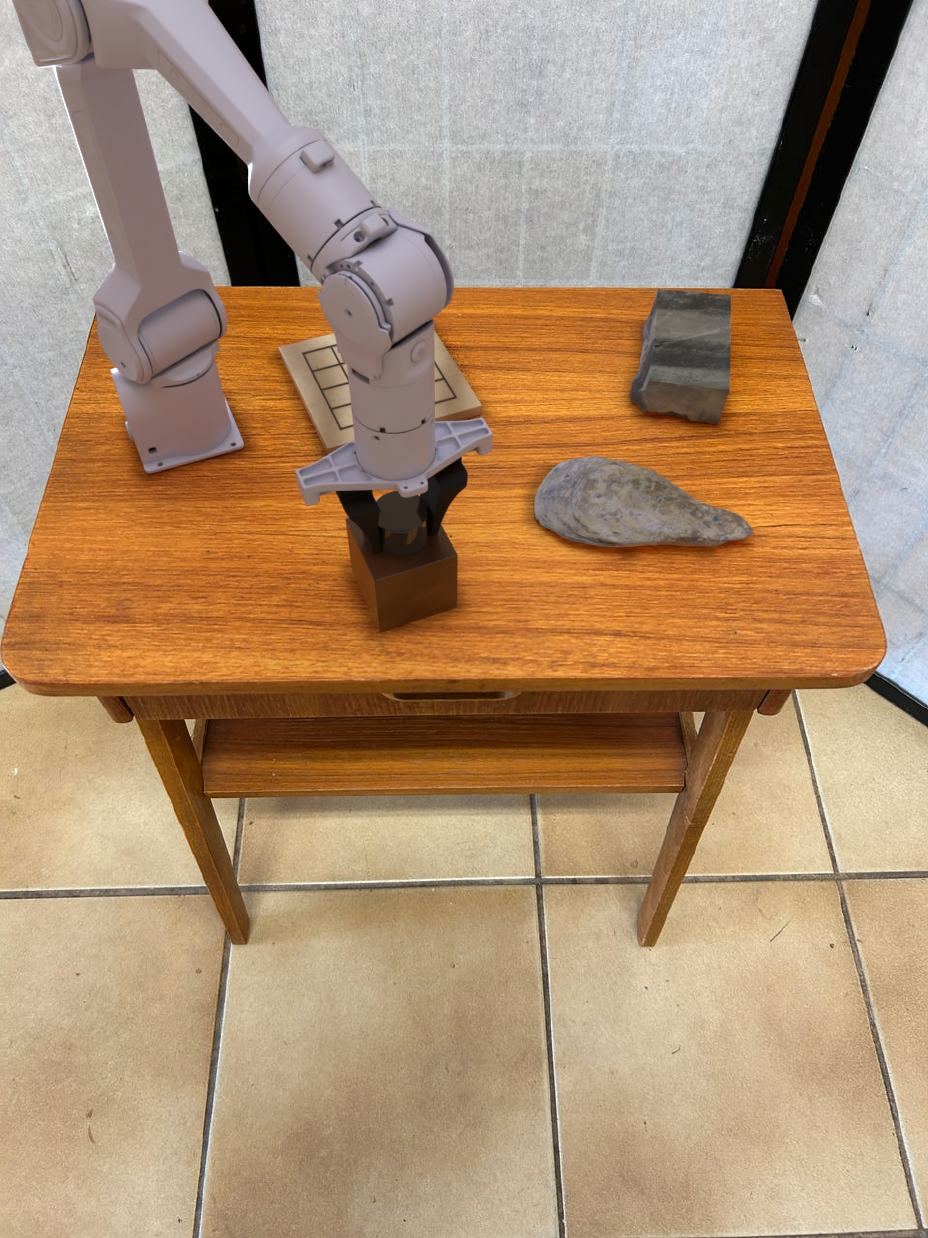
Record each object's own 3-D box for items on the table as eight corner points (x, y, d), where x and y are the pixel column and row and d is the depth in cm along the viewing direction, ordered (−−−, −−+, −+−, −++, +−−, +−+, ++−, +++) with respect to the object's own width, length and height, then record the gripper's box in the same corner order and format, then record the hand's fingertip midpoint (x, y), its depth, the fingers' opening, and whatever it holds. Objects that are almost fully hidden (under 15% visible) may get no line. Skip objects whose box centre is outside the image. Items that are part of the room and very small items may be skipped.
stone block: (628, 416, 95) (636, 375, 91) (637, 326, 103) (645, 284, 99) (718, 427, 94) (731, 385, 90) (720, 335, 102) (732, 293, 98)
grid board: (328, 457, 91) (327, 447, 90) (280, 355, 99) (278, 345, 98) (481, 414, 95) (482, 404, 94) (422, 320, 103) (422, 309, 102)
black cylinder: (384, 564, 74) (382, 539, 72) (366, 524, 77) (363, 499, 74) (437, 547, 76) (436, 522, 73) (416, 509, 78) (415, 483, 75)
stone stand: (379, 633, 79) (374, 581, 73) (352, 571, 83) (345, 518, 77) (457, 607, 81) (458, 554, 75) (426, 548, 85) (425, 494, 79)
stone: (740, 587, 85) (741, 501, 91) (754, 564, 82) (755, 476, 87) (526, 546, 85) (540, 462, 91) (533, 522, 82) (546, 436, 88)
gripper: (309, 473, 61) (329, 599, 72) (514, 414, 65) (504, 543, 76) (277, 403, 65) (301, 533, 76) (472, 351, 68) (469, 483, 79)
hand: (400, 534), depth 76 cm, fingers closed on black cylinder, 4 cm apart
